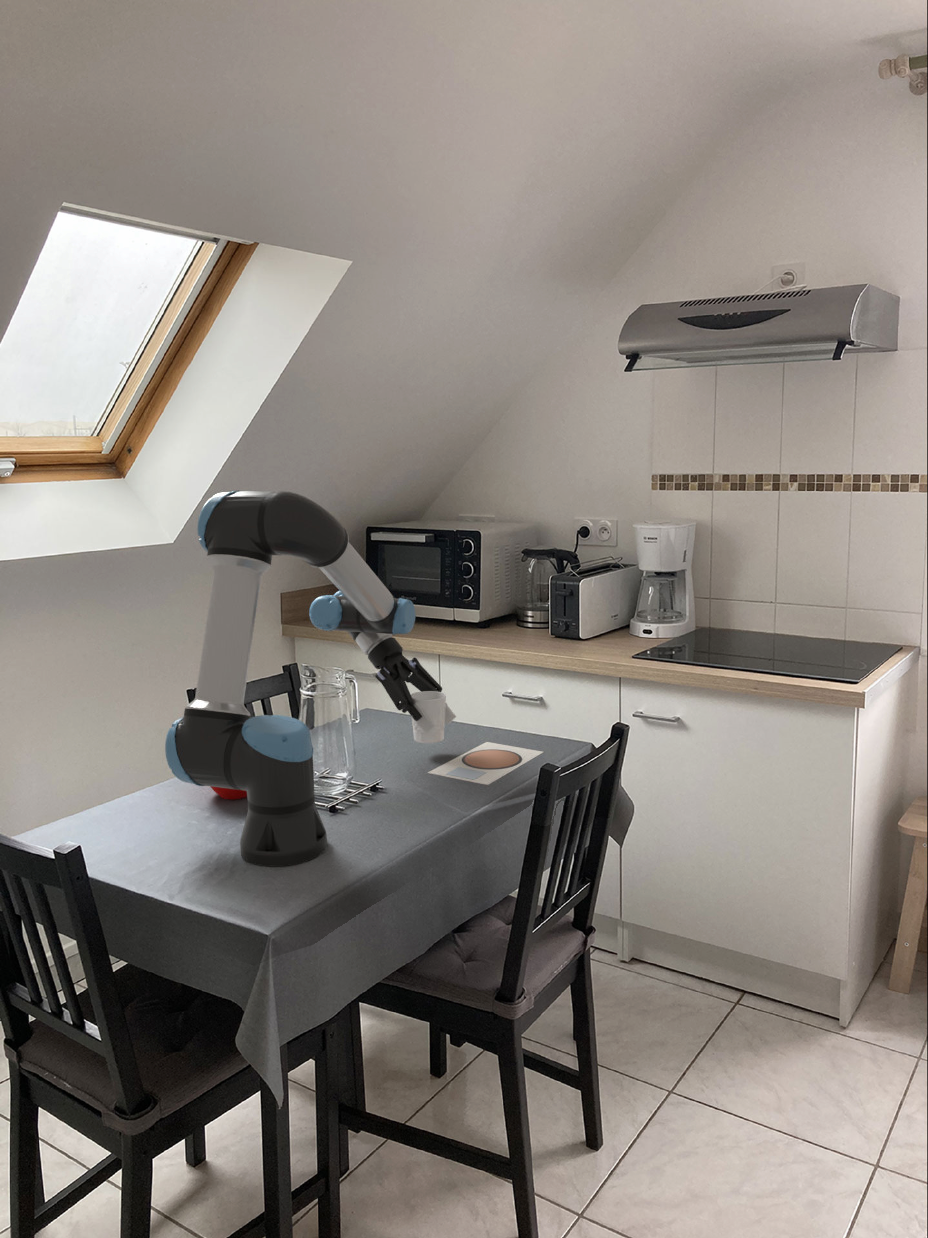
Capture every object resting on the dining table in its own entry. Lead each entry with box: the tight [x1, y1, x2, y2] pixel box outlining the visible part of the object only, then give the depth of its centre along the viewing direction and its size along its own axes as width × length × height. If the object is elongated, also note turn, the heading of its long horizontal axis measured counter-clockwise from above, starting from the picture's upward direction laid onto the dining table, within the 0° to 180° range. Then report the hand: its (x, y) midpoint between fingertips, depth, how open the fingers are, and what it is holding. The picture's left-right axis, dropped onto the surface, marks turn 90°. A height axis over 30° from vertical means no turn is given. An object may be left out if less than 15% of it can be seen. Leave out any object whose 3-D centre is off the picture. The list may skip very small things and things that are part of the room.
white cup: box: [410, 691, 447, 744], centre depth 225 cm, size 8×8×10 cm
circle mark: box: [462, 749, 522, 770], centre depth 223 cm, size 13×13×1 cm
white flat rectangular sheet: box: [427, 741, 544, 786], centre depth 221 cm, size 24×15×1 cm, turn 147°
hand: (441, 725), depth 223 cm, fingers closed on white cup, 8 cm apart
